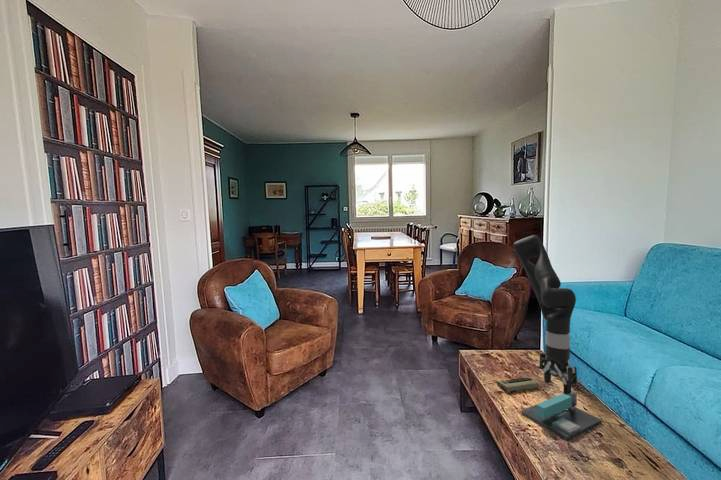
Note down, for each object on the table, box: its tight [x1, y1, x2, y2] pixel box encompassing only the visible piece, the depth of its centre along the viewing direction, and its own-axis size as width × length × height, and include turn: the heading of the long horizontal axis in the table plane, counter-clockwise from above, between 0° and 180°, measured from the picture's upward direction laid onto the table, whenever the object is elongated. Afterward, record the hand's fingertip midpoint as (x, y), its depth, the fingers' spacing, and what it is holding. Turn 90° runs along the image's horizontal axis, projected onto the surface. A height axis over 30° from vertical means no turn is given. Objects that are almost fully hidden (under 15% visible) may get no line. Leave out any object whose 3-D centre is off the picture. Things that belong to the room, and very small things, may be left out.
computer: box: [496, 376, 540, 394], centre depth 151 cm, size 16×8×3 cm, turn 101°
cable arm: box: [535, 390, 578, 419], centre depth 127 cm, size 20×4×4 cm, turn 116°
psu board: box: [520, 404, 603, 442], centre depth 126 cm, size 20×18×3 cm
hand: (557, 388), depth 120 cm, fingers open, 8 cm apart
